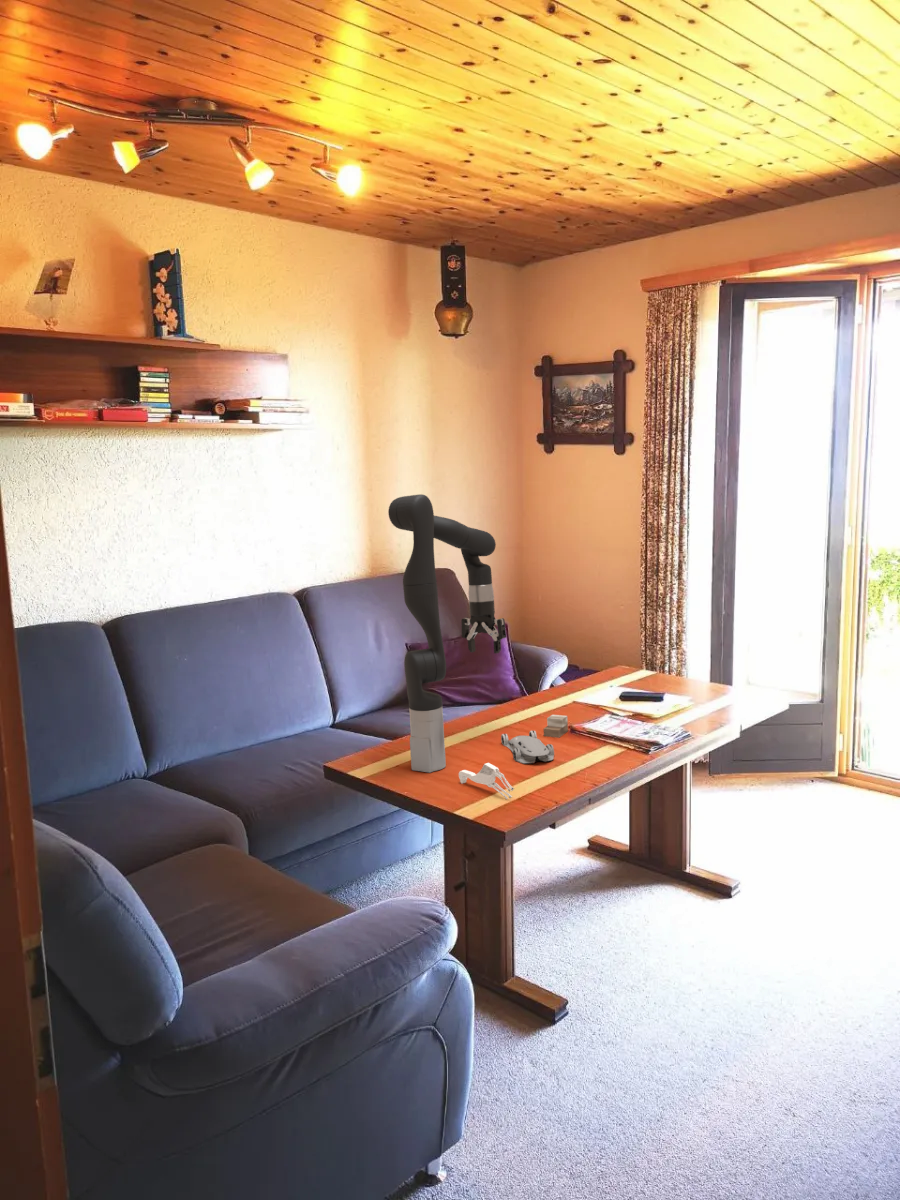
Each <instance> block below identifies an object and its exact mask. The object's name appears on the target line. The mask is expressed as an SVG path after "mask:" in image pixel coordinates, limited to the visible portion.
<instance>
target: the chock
mask: <svg viewBox="0 0 900 1200" xmlns="http://www.w3.org/2000/svg"><path fill="white" fill-rule="evenodd" d="M546 721H547V722H546V723H547V724H546V727H544V728H543V737H547V738H548V737H550V738H555V739H557V738H558V739H559V738H561V737H562V736H564V735H565V734H566V733H568V732H569V723H568V722H569V721H568V715H561V714H551V715H550V716H548V717H547V718H546Z"/></svg>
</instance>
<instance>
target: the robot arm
mask: <svg viewBox="0 0 900 1200" xmlns="http://www.w3.org/2000/svg"><path fill="white" fill-rule="evenodd" d="M387 514H388V518H389V521H390V522H391V524H392V525H393V526H394V527H395V529H399V530H401V531H409V532H412V534H413V535H412V536H413V538H412V539H413V547H412V551H411V555H410V557H409V559H408V562H407V564H406V567H405V570H404V573H403V577H402V586H403V588H402V589H403V598H404V604H405V606H406V608H407V610H408V611H409V612H410V613H411V615H412V616H413V618H414V619H415V620H416V621H417V623H418V624H419V625H420V627H421V628H422V630H423V632H424V634H425V637H426V640H427V646H428V648H424V649H422V648H421V649H415V650H410V651H408V652H406V654H405V656H404V662H403V663H404V673H405V681H406V682H405V684H406V694H407V700H408V710H409V724H410V726H409V728H410V737H409V750H410V764H411V765H410V766H411V771H416V772H425V773H428V774H429V773H432V772H433V773H434V772H436V771H440V770H442V769H444V768H446V766H447V763H446V749H445V730H444V729H445V728H444V714H443V711H444V710H443V698H442V696H441V695H440V694H439V693H436V692H431V691H427V690H425V689H423V685H422V684H427V683H435V682H438V681H439V682H440V681H442V680H444V679H445V677H446V674H447V662H446V660H447V659H446V654H445V648H444V642H443V636H442V629H441V623H440V621H441V619H440V609H439V593H438V585H437V584H438V582H437V575H436V561H435V547H434V546H435V545H434V543H435V540H438V541H440V542H442V543H444V544H446V545H450V546H452V547H454V548H456V549H459V550H460V552H461V554H462V559H463V561H464V565H465V567H466V570H467V576H468V577H467V581H468V593H467V594H468V605H469V606H468V607H469V615H470V618H469V617H463V618H461V622H460V623H461V637H462V638H463V639H466V640H467V647H468V651H469V652H470V653H474V652H476V639H475V637H476V636H477V634H481V633H483V634H488V635H489V636H490V637H492V640H493V642H492V643H493V654H499V653H500V652H501V650H502V646H501V643H502V642H501V640H502V639H503V640H504V639H506V638H507V631H506V629H507V628H506V623H505V619H504V618H495V613H496V612H495V594H494V588H493V587H494V586H493V578H492V576H493V575H492V568H491V566H490V565H489V564H486V563H483V562H482V561H481V559H480V557H487V556H490V555H492V554H493V553H494V552H495V550H496V545H497V543H496V539H495V538H494V537H493V535H492V534H491V533H490V532H487V531H485V530H482V529H477V528H474V527H469V526H467V525H465V524H463V523H461V522H459V521H458V520H455V519H452V518H448V517H443V516H438V515H435V514H434V507H433V503H432V501H431V499H430V498H429V497H428V496H427V495H425V494H422V493H421V494H412V495H404V496H403V495H402V496H399V497H396V498H395V499H393V500H392V501H391V502H390V504H389V507H388V513H387ZM470 625H471V626H472V627H471V628H470ZM496 627H497V628H496Z"/></svg>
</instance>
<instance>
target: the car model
mask: <svg viewBox="0 0 900 1200" xmlns="http://www.w3.org/2000/svg"><path fill="white" fill-rule="evenodd" d="M500 738H501V739H500V741H501V744H502V746H504V747H506V748H508V749H509V750H510V751H511V752H512V757H513V760H514V761H515V762H518V763H520V764H524V765H530V764H531V765H532V764H535V763H536V762H542V763H547V762H551V761H553V760H554V759H555V758H554V756H555V748H554V745H553V744H551V743H547V744H546V745H545V744H544V743H543V742H542V741H541V739H540V738H538V736H537V731H536V730H530V731H529V732H528V735H517V736H515V737H512V738H511V739H509V736H508V733H501V736H500Z"/></svg>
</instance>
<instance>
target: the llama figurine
mask: <svg viewBox="0 0 900 1200" xmlns="http://www.w3.org/2000/svg"><path fill="white" fill-rule="evenodd" d="M496 777H497V778H498V779H499V780H500V781H501V783H502V784H503V785H504V787H505V789H507V791H506V790H505V789H504V788H502V787H501V785H499V784H498V783H497V782H496ZM458 778H459V783H460V784H465V783H467V780H468V779H470V781H472V782H474V783H476V784H482V785H485V786H487V787H488V788H492V789H494V790H495V791H497V792H498V793H499V794H500V795H502V796H503V798H504V799H505V800H508V798H513V796H512V795H511V794H510V792H513V791H514V790H515V788H514V787H513V786H512V785H511V784H510V783H509V781H508V780H507V779H506V777H505V774H503V773H502V772H501V771H500V769H499V767H498V766H495V765H494V764H491V763H490V762H487V763H484V764H483V766H482V768H481V769H480V770H479V771H478V772H477V773H476V772H473V771H470V770H467V769H463V770H460V771H459V772H458Z"/></svg>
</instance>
